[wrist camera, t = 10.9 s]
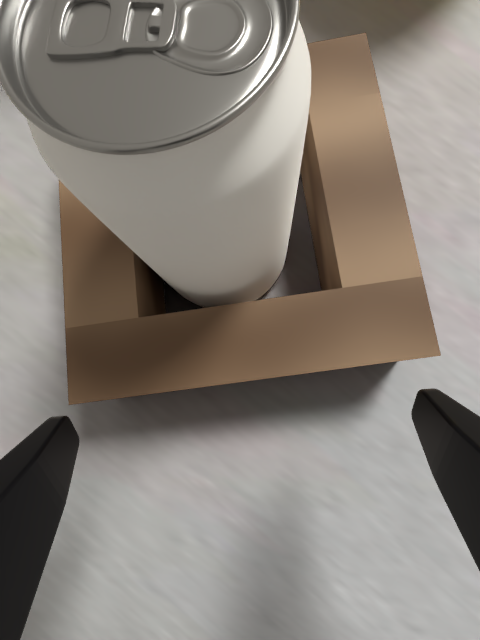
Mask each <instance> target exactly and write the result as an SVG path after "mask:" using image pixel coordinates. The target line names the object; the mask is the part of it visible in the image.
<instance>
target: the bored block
mask: <svg viewBox="0 0 480 640" xmlns="http://www.w3.org/2000/svg"><path fill="white" fill-rule="evenodd" d="M307 46H308V51H309V55H310V62H311V97H310V105H309V114H308V122H307V129H306V135H305V142H304V149H303V155H302V162H301V168H300V172H301V178H302V184H303V189H304V195H305V200H306V206H307V212H308V217H309V223H310V229H311V234H312V240H313V245H314V251H315V257H316V262H317V268H318V274H319V279H320V285H321V290H322V291H317V292H311V293H304V294H297V295H290V296H283V297H276V298H269V299H263V300H256V301H249V302H242V303H235V304H228V305H222V306H215V307H208V308H201V309H194V310H187V311H180V312H174V313H167V314H166V309H165V298H164V288H163V278H161V277H160V276H159V275H158V274H157V273H156V272H155V271H154V270H153V269H152V268H151V267H150V266H148V265H147V264H146V263H145V262H144V261H143V260H142V259H141V258H140V257H139V256H138V255H137V254H136V253H134V252H133V251H132V250H131V249H130V248H129V247H128V246H127V245H126V244H125V243H124V242H123V241H122V240H121V239H119V238H118V237H117V236H116V235H115V234H114V233H113V232H112V231H111V230H110V229H109V228H108V227H107V226H106V225H105V224H103V223H102V222H101V221H100V220H99V219H98V218H97V217H96V216H95V215H94V214H93V213H92V212H91V211H90V210H89V209H88V208H87V207H86V206H85V205H84V204H82V203H81V202H80V201H79V200H78V199H77V198H76V197H75V196H74V195H73V194H72V193H71V192H70V191H69V190H68V189H67V188H66V187H65V186H64V184H63V183H62V182H61V181H60V180H59V196H60V218H61V241H62V264H63V287H64V310H65V332H66V355H67V378H68V401H69V405H72V404H79V403H87V402H94V401H102V400H109V399H117V398H124V397H132V396H140V395H147V394H155V393H162V392H170V391H177V390H185V389H192V388H200V387H207V386H215V385H222V384H230V383H237V382H245V381H252V380H260V379H267V378H275V377H283V376H290V375H298V374H305V373H313V372H320V371H328V370H335V369H343V368H350V367H358V366H365V365H373V364H380V363H388V362H395V361H403V360H410V359H418V358H426V357H433V356H441V354H440V350H439V345H438V341H437V337H436V332H435V328H434V324H433V320H432V315H431V311H430V307H429V302H428V298H427V294H426V289H425V285H424V281H423V276H422V272H421V268H420V263H419V259H418V255H417V251H416V246H415V242H414V238H413V233H412V229H411V225H410V220H409V216H408V212H407V207H406V203H405V199H404V195H403V190H402V186H401V182H400V177H399V173H398V169H397V164H396V160H395V156H394V151H393V147H392V143H391V138H390V134H389V130H388V126H387V121H386V117H385V113H384V108H383V104H382V100H381V95H380V91H379V87H378V82H377V78H376V74H375V69H374V65H373V61H372V57H371V52H370V48H369V44H368V39H367V35H366V33H361V34H356V35H351V36H345V37H340V38H334V39H329V40H324V41H318V42H313V43H308V44H307Z"/></svg>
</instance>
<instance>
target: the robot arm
mask: <svg viewBox="0 0 480 640" xmlns="http://www.w3.org/2000/svg"><path fill="white" fill-rule="evenodd" d="M412 420H413V423H414V426H415V428H416V431H417V434H418V436H419V439H420V442H421V445H422V447H423V450H424V453H425V455H426V458H427V461H428V464H429V466H430V469H431V471H432V474H433V476H434V479H435V481H436V483H437V485H438V487H439V489H440V492H441V494H442V496H443V498H444V500H445V502H446V504H447V506H448V508H449V510H450V512H451V514H452V516H453V518H454V520H455V522H456V524H457V526H458V528H459V530H460V532H461V534H462V536H463V538H464V540H465V542H466V544H467V546H468V548H469V550H470V553H471V555H472V557H473V559H474V561H475V563H476V565H477V567H478V569H479V571H480V417H479V416H478V415H476V414H475V413H473V412H472V411H470V410H469V409H467V408H466V407H464V406H463V405H461V404H460V403H458V402H457V401H455V400H453V399H452V398H450V397H449V396H447V395H446V394H444V393H443V392H441V391H440V390H438V389H422V390H419V391H418V393H417V396H416V399H415V402H414V405H413V409H412ZM78 447H79V436H78V434H77V432H76V430H75V428H74V426H73V424H72V422H71V420H70V419H69V417H67V416H56V417H51V418H49V419H47V420H46V421H45V422H44V423H43V424H41V425H40V426H39V427H38V428H37V429H36V430H34V431H33V432H32V433H31V434H30V435H29V436H27V437H26V438H25V439H24V440H23V441H22V442H20V443H19V444H18V445H17V446H16V447H15V448H13V449H12V450H11V451H10V452H9V453H8V454H6V455H5V456H4V457H3V458H2V459H1V460H0V640H20V638H21V635H22V632H23V629H24V627H25V624H26V621H27V618H28V615H29V612H30V609H31V606H32V603H33V600H34V597H35V594H36V591H37V588H38V585H39V582H40V579H41V576H42V573H43V570H44V567H45V564H46V561H47V558H48V555H49V552H50V549H51V546H52V543H53V540H54V537H55V534H56V531H57V528H58V525H59V522H60V519H61V516H62V513H63V510H64V507H65V504H66V500H67V496H68V491H69V487H70V483H71V478H72V474H73V469H74V465H75V460H76V456H77V451H78Z"/></svg>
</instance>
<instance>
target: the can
mask: <svg viewBox="0 0 480 640" xmlns="http://www.w3.org/2000/svg"><path fill="white" fill-rule="evenodd" d="M299 13H300V0H0V82H1V84H2V86H3V88H4V90H5V92H6V93H7V95H8V97H9V98H10V100H11V101H12V102H13V104H14V105H15V106H16V107H17V109H18V110H19V111H20V112H21V113H22V114H23V115H24V116H25V117H26V118H27V121H28V124H29V127H30V130H31V133H32V136H33V138H34V141H35V143H36V145H37V147H38V150H39V152H40V154H41V155H42V157H43V159H44V160H45V162H46V163H47V165H48V166H49V168H50V169H51V170H52V171H53V173H54V174H55V175H56V176H57V178H58V179H59V180H60V181H61V182H62V183H63V184H64V186H65V187H66V188H67V189H68V190H69V191H70V192H71V193H72V194H73V195H74V196H75V197H76V198H77V199H78V200H79V201H80V202H81V203H82V204H84V205H85V206H86V207H87V208H88V209H89V210H90V211H91V212H92V213H93V214H94V215H95V216H96V217H97V218H98V219H99V220H100V221H101V222H102V223H103V224H105V225H106V226H107V227H108V228H109V229H110V230H111V231H112V232H113V233H114V234H115V235H116V236H117V237H118V238H119V239H121V240H122V241H123V242H124V243H125V244H126V245H127V246H128V247H129V248H130V249H131V250H132V251H133V252H134V253H136V254H137V255H138V256H139V257H140V258H141V259H142V260H143V261H144V262H145V263H146V264H147V265H148V266H150V267H151V268H152V269H153V270H154V271H155V272H156V273H157V274H158V275H159V276H160V277H161V278H163V279H164V280H165V281H166V282H167V283H168V284H169V285H170V286H171V287H172V288H174V289H175V290H176V291H177V292H178V293H179V294H181V295H182V296H183V297H184V298H186V299H187V300H189V301H191V302H192V303H194V304H197V305H199V306H202V307H205V308H208V307H215V306H222V305H228V304H235V303H242V302H249V301H255V300H257V299H258V298H260V297H261V296H262V295H264V294H265V293H266V292H267V291H268V290H269V289H270V288H271V287H272V285H273V284H274V283H275V281H276V280H277V278H278V277H279V275H280V273H281V271H282V269H283V266H284V263H285V259H286V254H287V248H288V242H289V237H290V231H291V224H292V218H293V212H294V206H295V200H296V194H297V187H298V181H299V175H300V168H301V162H302V155H303V149H304V142H305V135H306V129H307V122H308V114H309V105H310V97H311V62H310V55H309V51H308V46H307V42H306V39H305V35H304V32H303V29H302V27H301V24H300V21H299Z"/></svg>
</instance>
